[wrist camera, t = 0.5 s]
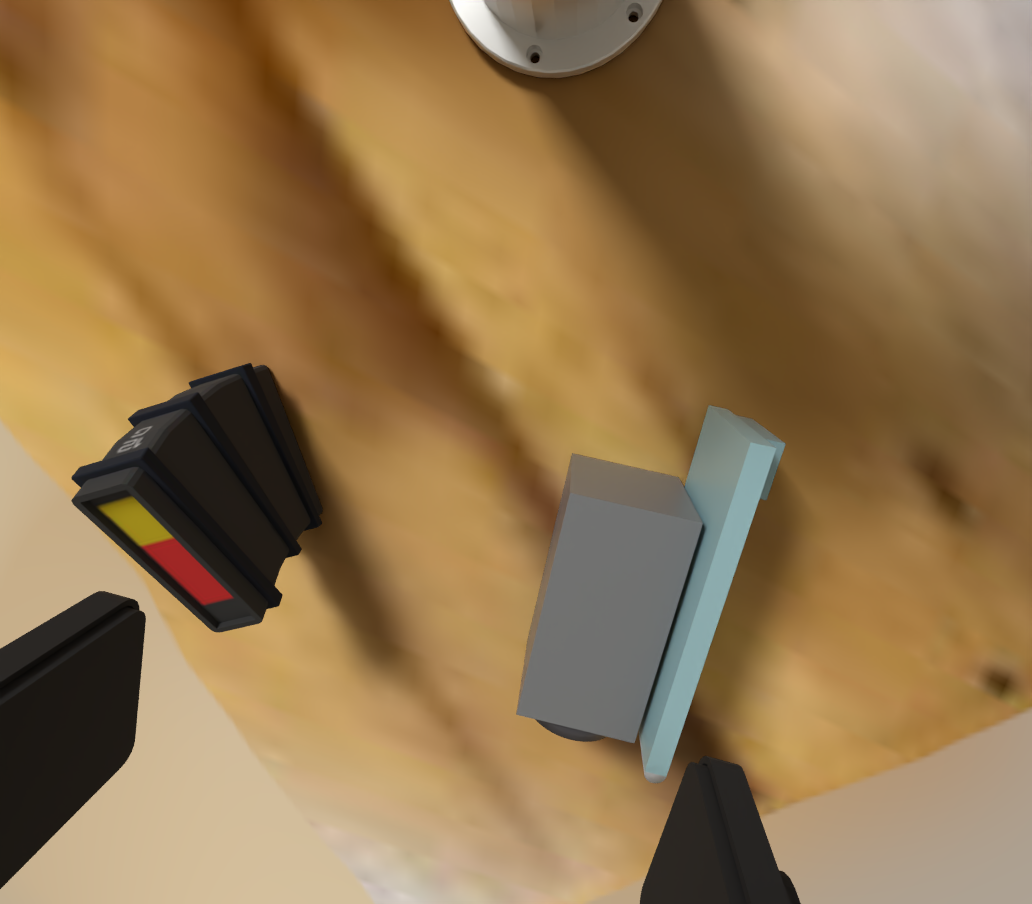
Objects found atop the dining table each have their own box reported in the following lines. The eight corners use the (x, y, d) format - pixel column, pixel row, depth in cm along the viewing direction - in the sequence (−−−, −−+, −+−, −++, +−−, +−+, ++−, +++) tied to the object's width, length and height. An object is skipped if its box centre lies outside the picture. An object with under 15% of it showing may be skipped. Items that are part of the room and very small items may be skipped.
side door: (708, 405, 37) (750, 442, 28) (744, 412, 37) (798, 452, 28) (628, 674, 42) (641, 780, 33) (659, 682, 42) (681, 789, 33)
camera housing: (572, 453, 39) (570, 492, 32) (681, 477, 39) (705, 523, 31) (524, 653, 43) (512, 731, 36) (622, 676, 43) (631, 760, 35)
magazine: (240, 314, 38) (128, 474, 26) (341, 467, 46) (291, 641, 34) (187, 331, 38) (55, 495, 27) (296, 479, 46) (232, 655, 35)
